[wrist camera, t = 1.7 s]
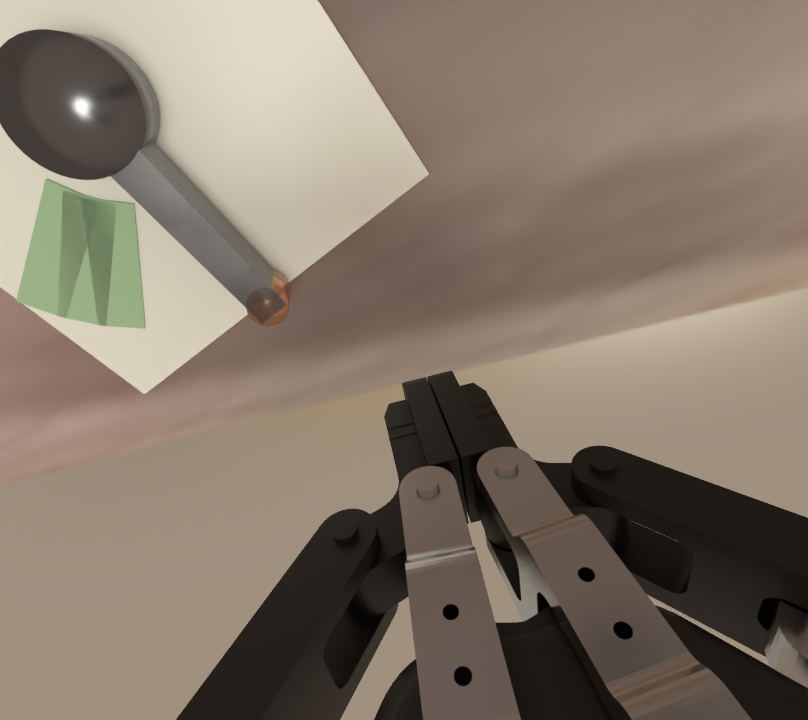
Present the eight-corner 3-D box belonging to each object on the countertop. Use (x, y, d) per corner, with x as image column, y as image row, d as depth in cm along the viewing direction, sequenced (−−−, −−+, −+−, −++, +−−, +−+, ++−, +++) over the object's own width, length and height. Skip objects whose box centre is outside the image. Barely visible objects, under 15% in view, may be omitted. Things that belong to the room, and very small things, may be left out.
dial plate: (27, -445, 15) (-2, -499, 14) (422, 168, 26) (430, 174, 25) (-333, 8, 18) (-386, 3, 17) (151, 380, 30) (143, 396, 28)
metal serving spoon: (-3, 88, 20) (-44, 92, 18) (83, 3, 19) (52, -6, 17) (248, 327, 27) (243, 352, 25) (319, 272, 26) (321, 293, 24)
